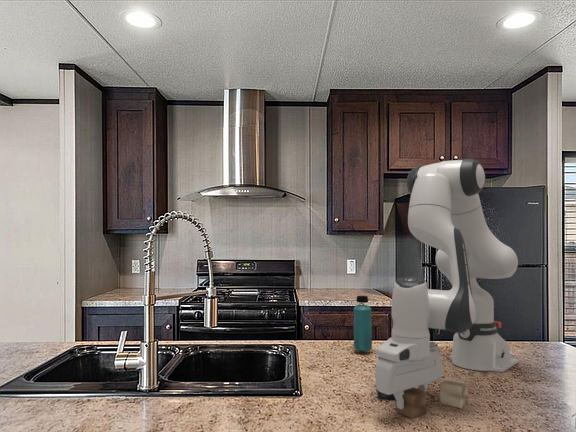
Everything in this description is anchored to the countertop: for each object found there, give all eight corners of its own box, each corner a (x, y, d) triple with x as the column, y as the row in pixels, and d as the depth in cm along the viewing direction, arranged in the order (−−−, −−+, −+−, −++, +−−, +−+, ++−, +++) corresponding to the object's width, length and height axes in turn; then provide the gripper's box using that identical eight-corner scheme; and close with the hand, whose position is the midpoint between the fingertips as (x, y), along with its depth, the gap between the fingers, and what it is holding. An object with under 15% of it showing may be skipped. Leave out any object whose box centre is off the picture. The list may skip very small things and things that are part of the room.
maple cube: (447, 397, 118) (447, 378, 119) (467, 402, 115) (467, 382, 115) (440, 403, 115) (440, 383, 115) (460, 408, 111) (460, 387, 112)
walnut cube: (409, 406, 112) (409, 385, 112) (426, 413, 108) (426, 391, 108) (395, 411, 109) (395, 389, 109) (412, 418, 105) (412, 396, 105)
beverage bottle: (373, 355, 158) (373, 297, 159) (354, 355, 158) (354, 297, 159) (370, 350, 165) (370, 294, 165) (352, 350, 165) (352, 294, 165)
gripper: (427, 338, 118) (428, 392, 117) (370, 349, 106) (370, 410, 106) (448, 343, 112) (449, 399, 112) (391, 356, 101) (391, 419, 100)
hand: (410, 405), depth 109 cm, fingers closed on walnut cube, 5 cm apart
